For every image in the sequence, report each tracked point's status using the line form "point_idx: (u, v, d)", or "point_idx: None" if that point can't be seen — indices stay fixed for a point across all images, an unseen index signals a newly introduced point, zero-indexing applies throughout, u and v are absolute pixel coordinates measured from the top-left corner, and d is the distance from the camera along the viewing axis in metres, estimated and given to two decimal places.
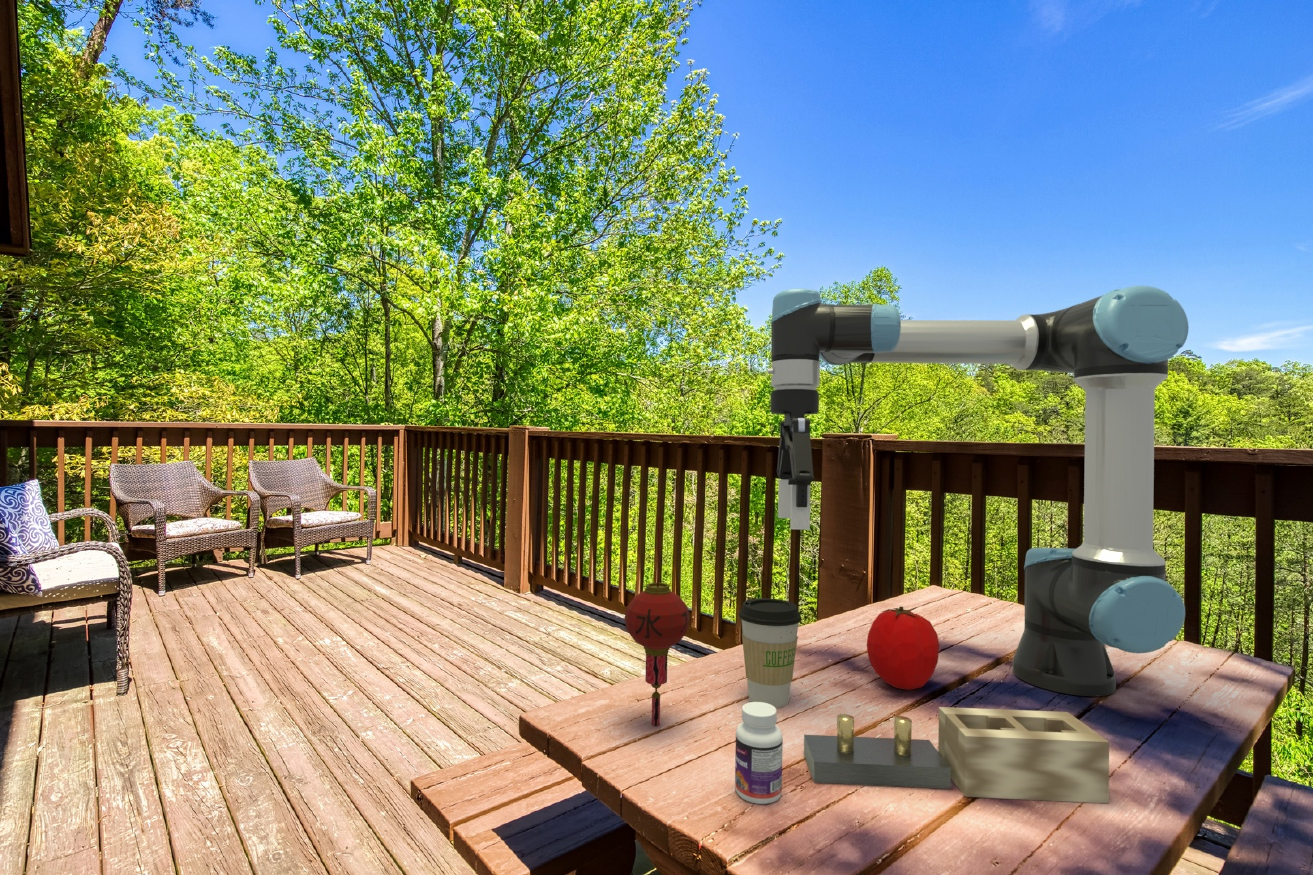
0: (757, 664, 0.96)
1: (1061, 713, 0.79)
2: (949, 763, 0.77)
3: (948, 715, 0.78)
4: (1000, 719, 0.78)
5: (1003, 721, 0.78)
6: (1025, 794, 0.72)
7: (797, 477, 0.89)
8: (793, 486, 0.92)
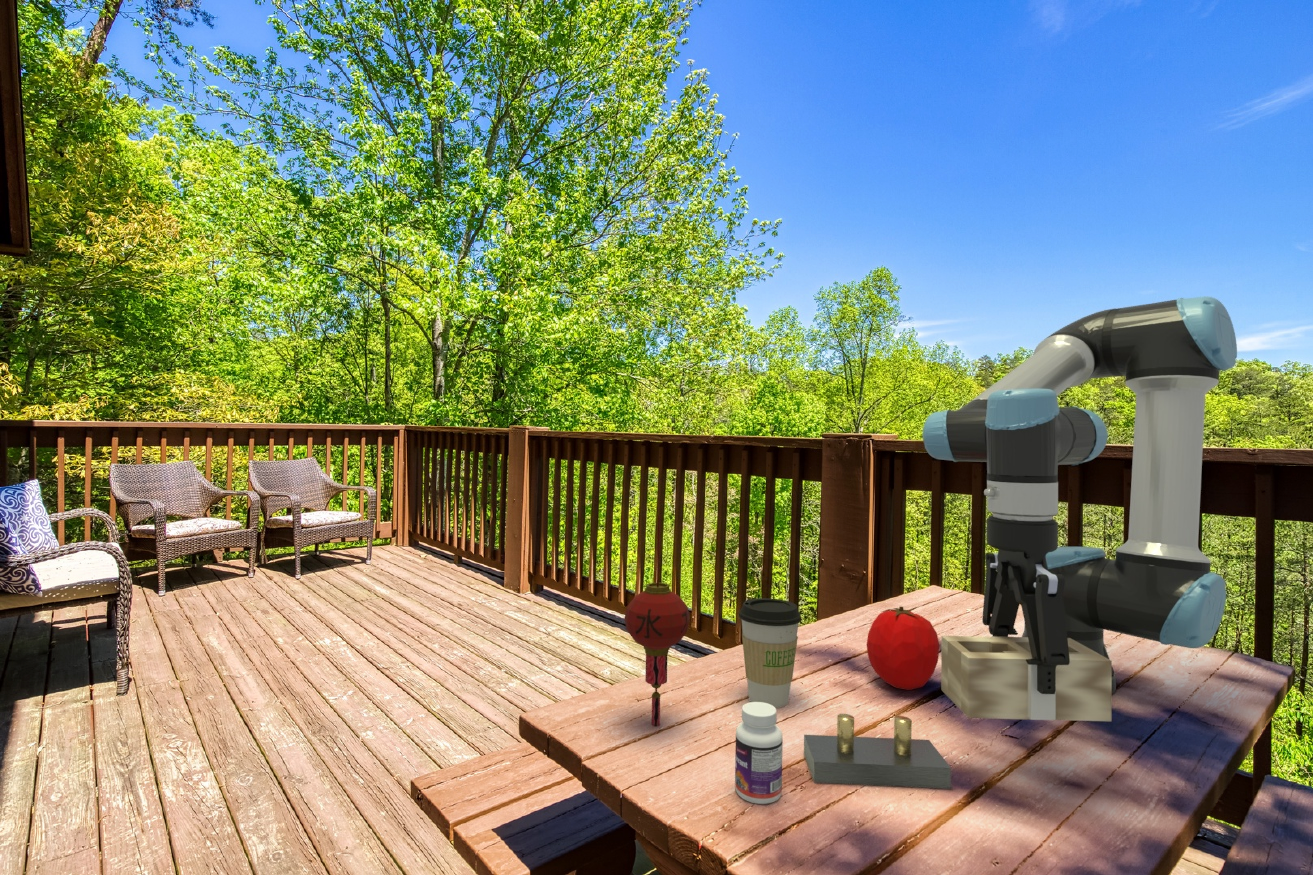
0: (757, 664, 0.96)
1: None
2: (952, 689, 0.78)
3: (951, 642, 0.79)
4: (1002, 645, 0.78)
5: (1005, 647, 0.78)
6: None
7: (1048, 662, 0.69)
8: (1033, 664, 0.72)
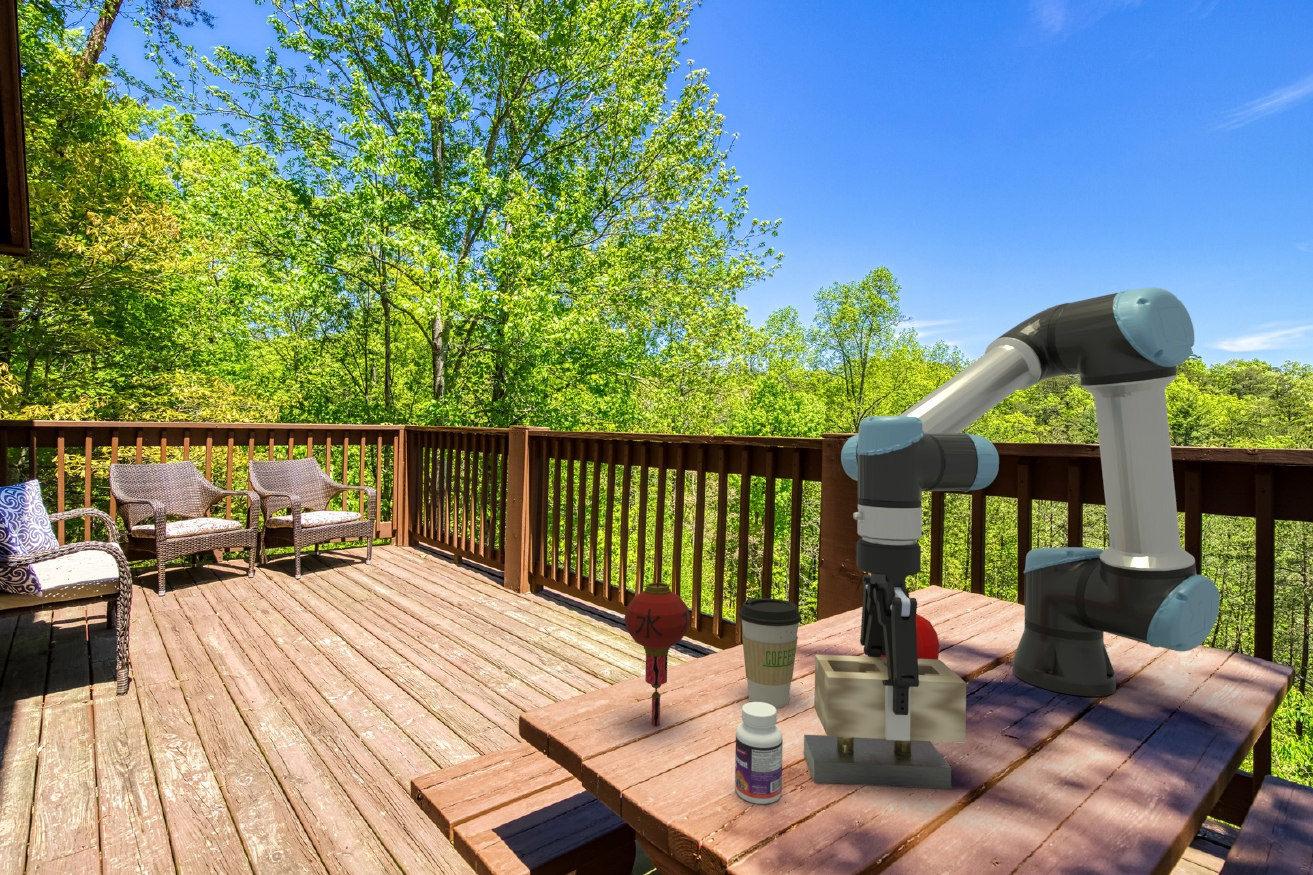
0: (757, 664, 0.96)
1: (932, 660, 0.81)
2: (819, 707, 0.79)
3: (820, 661, 0.80)
4: (870, 665, 0.80)
5: (873, 667, 0.80)
6: None
7: (898, 684, 0.71)
8: (889, 685, 0.74)
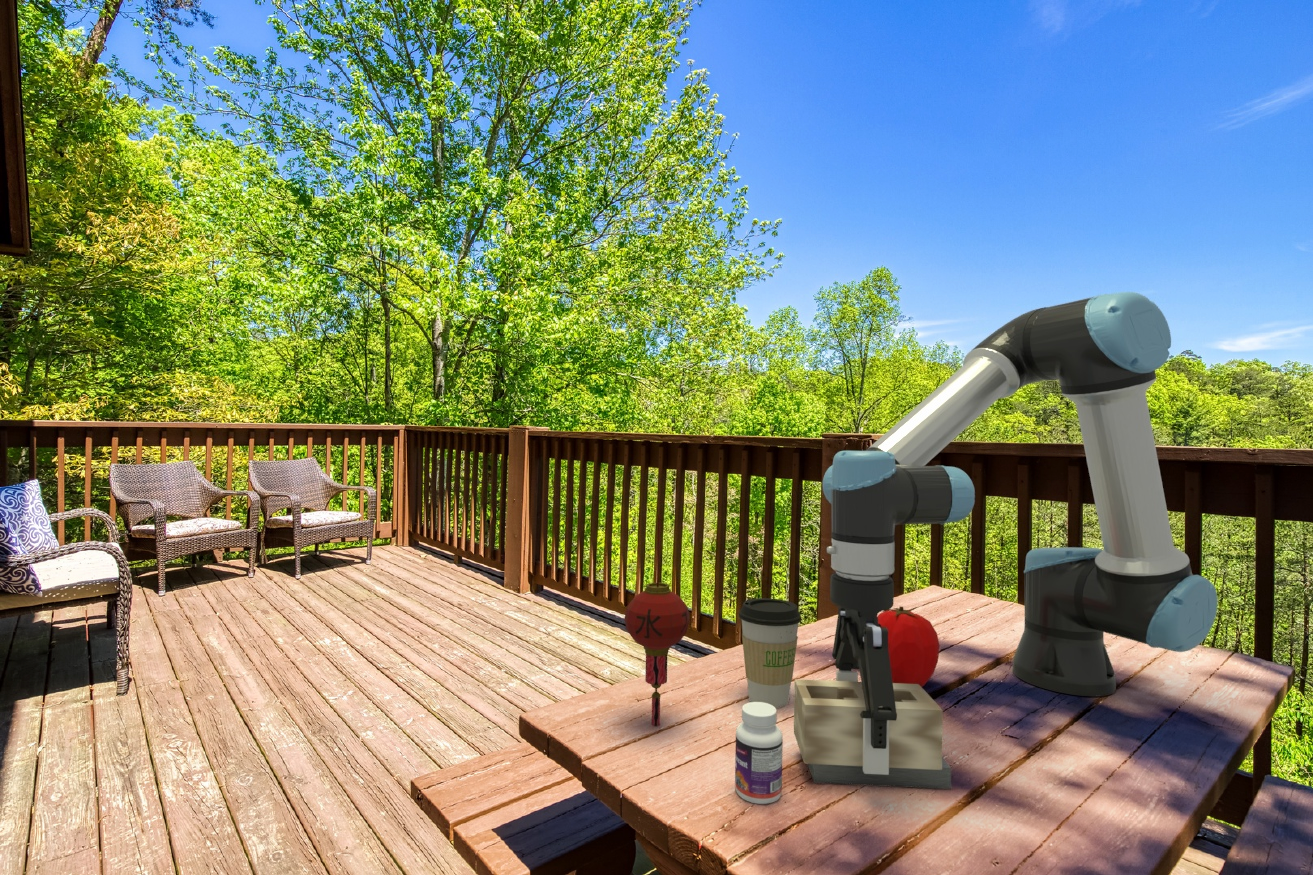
0: (757, 664, 0.96)
1: (911, 685, 0.81)
2: (798, 733, 0.79)
3: (799, 686, 0.80)
4: (848, 690, 0.80)
5: (851, 692, 0.80)
6: (862, 761, 0.74)
7: (875, 716, 0.68)
8: (867, 717, 0.71)
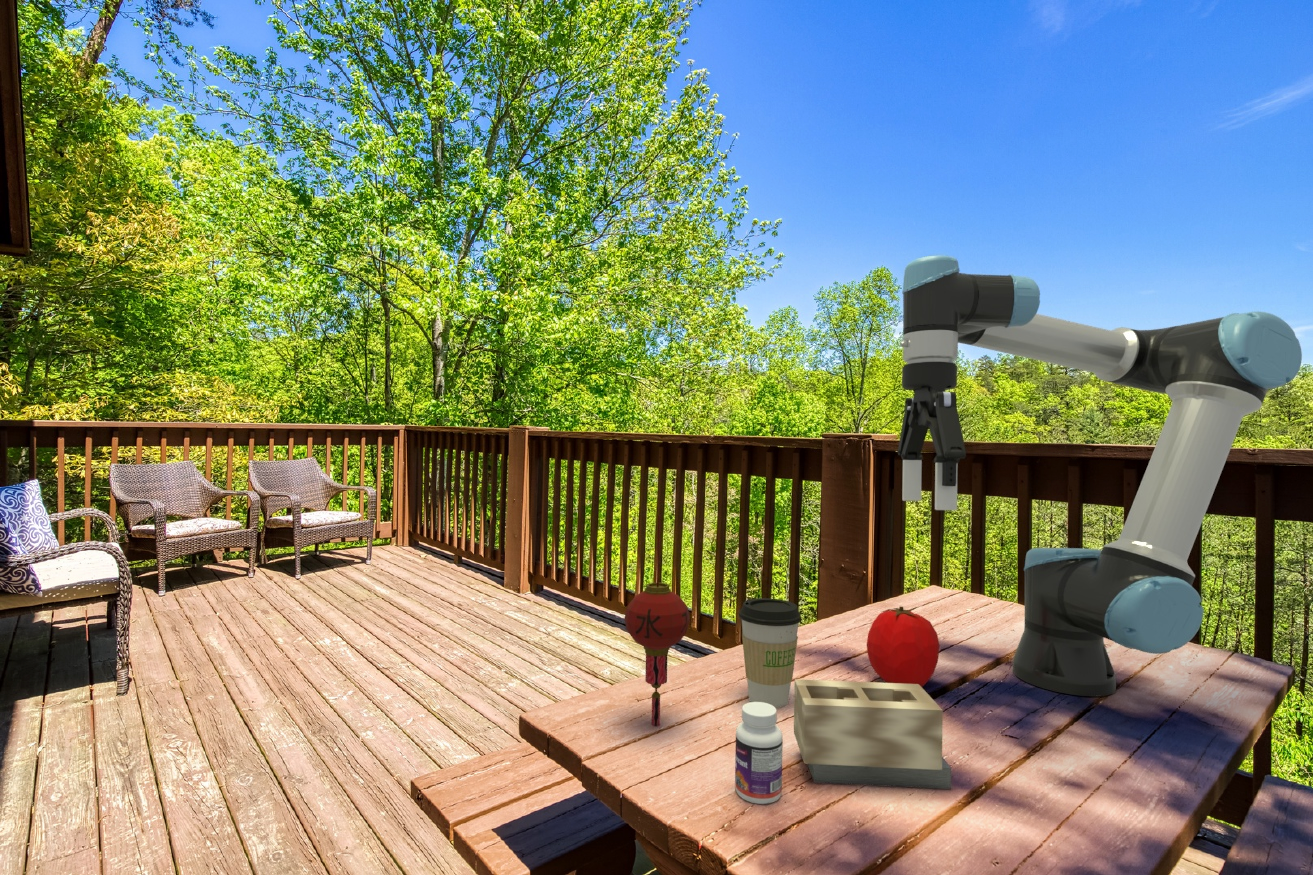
0: (757, 664, 0.96)
1: (911, 685, 0.81)
2: (798, 733, 0.79)
3: (799, 686, 0.80)
4: (848, 690, 0.80)
5: (851, 692, 0.80)
6: (862, 761, 0.74)
7: (948, 453, 0.84)
8: (939, 464, 0.87)
